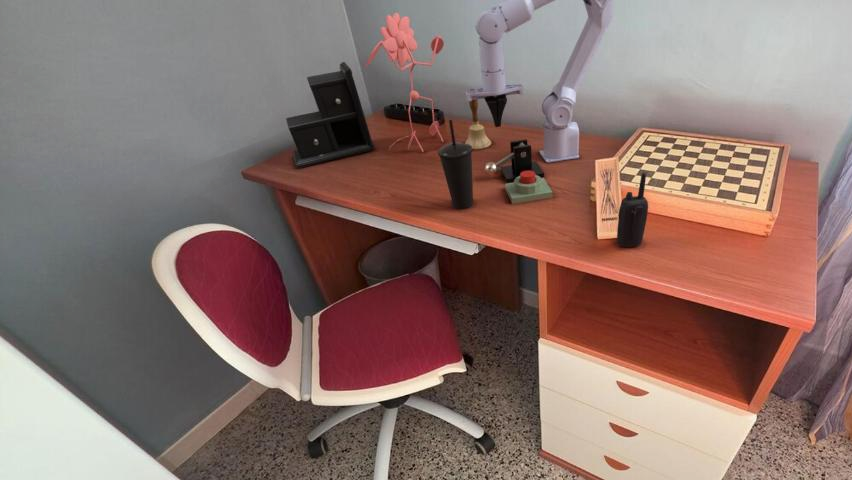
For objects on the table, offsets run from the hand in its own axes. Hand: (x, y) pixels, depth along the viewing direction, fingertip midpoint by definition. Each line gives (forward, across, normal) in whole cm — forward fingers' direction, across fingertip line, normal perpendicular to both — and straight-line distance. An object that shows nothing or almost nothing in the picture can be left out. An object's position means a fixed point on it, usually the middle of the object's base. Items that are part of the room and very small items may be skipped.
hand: (497, 125), depth 112 cm
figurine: (+11, +22, -24) cm, 34 cm away
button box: (+10, -3, +20) cm, 23 cm away
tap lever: (+8, -1, +9) cm, 12 cm away
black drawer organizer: (+11, +48, -25) cm, 55 cm away
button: (+7, -3, +20) cm, 22 cm away
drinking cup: (+11, +13, +20) cm, 27 cm away
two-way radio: (+11, -17, +48) cm, 52 cm away
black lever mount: (+10, -4, +9) cm, 14 cm away
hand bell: (+11, +4, -16) cm, 20 cm away
